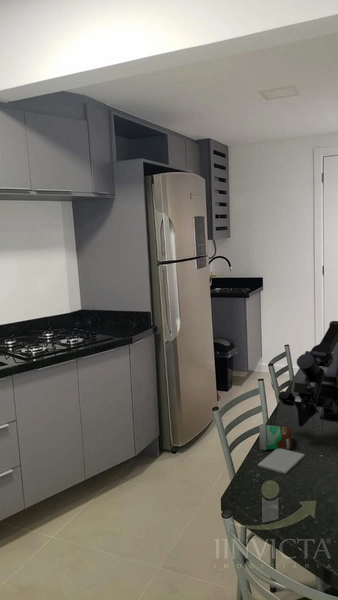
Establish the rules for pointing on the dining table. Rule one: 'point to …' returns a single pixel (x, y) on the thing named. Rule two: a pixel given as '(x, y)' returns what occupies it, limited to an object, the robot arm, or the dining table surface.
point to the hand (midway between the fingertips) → (300, 426)
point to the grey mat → (281, 460)
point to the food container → (275, 437)
